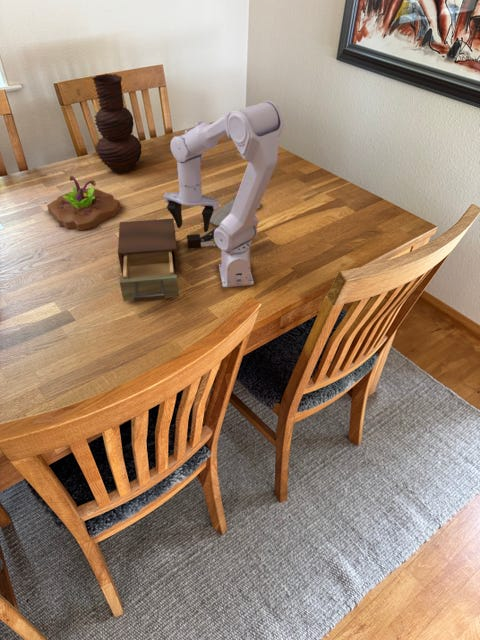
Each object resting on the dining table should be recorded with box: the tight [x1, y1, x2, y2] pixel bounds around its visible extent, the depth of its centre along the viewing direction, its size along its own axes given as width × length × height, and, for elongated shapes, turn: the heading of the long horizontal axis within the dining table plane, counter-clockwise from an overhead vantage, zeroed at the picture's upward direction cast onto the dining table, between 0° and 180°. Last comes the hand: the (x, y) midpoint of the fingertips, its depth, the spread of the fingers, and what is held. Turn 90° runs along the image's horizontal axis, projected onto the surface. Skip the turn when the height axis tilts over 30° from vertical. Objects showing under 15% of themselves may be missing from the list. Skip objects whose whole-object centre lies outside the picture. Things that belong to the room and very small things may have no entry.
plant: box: [46, 175, 121, 231], centre depth 140 cm, size 20×20×11 cm
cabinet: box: [117, 217, 180, 277], centre depth 124 cm, size 15×15×8 cm
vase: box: [91, 73, 142, 175], centre depth 155 cm, size 15×15×30 cm
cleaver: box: [200, 197, 261, 242], centre depth 141 cm, size 29×1×10 cm
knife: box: [186, 233, 218, 250], centre depth 129 cm, size 9×2×3 cm, turn 99°
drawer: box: [119, 251, 180, 302], centre depth 113 cm, size 19×13×6 cm
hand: (193, 228), depth 126 cm, fingers open, 7 cm apart
